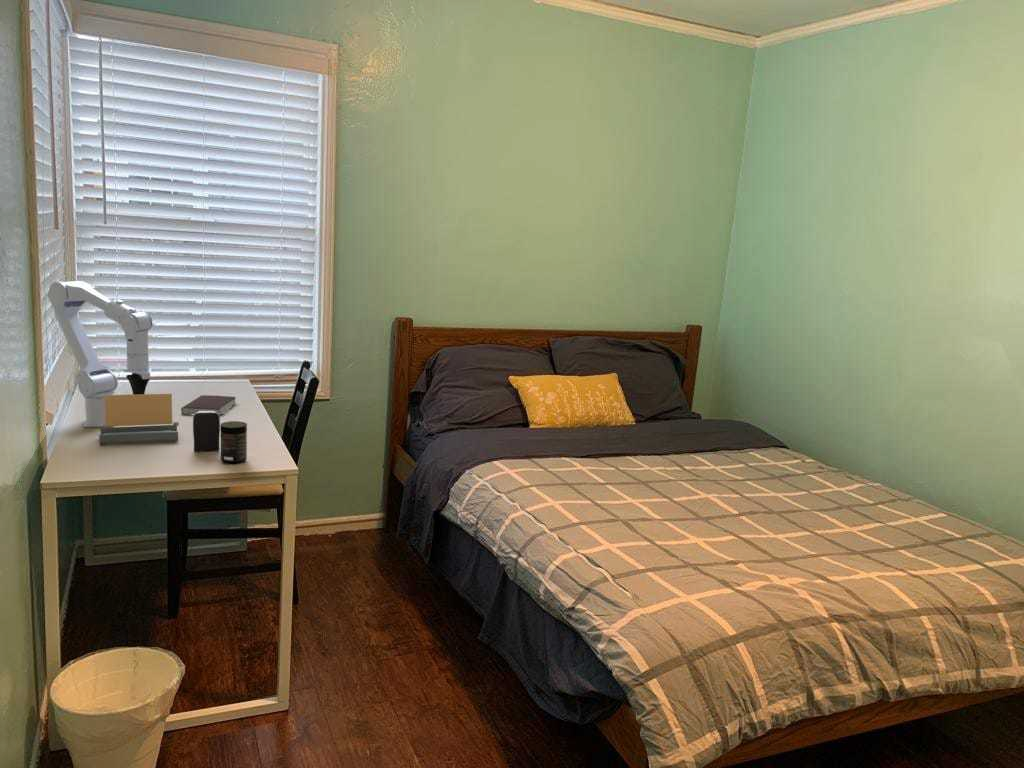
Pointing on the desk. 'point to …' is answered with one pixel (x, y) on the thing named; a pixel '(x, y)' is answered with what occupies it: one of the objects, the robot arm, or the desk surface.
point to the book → (209, 404)
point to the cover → (138, 409)
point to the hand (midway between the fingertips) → (138, 398)
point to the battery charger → (206, 431)
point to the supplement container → (233, 442)
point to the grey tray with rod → (138, 434)
